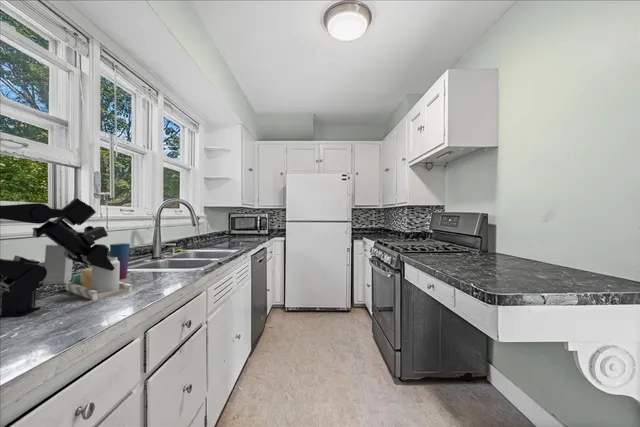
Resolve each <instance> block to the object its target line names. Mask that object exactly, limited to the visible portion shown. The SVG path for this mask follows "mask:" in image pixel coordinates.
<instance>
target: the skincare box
mask: <svg viewBox="0 0 640 427" xmlns="http://www.w3.org/2000/svg"><path fill="white" fill-rule="evenodd" d="M57 245H58V244H56V243H55V242H52V243H49V244H46V245H45V254H44V255H45V256H44V265H43V266H44V267H45V268H46V270H47V275H46V277H45V279H44V280H43V281H42V287H45V286H49V285H60V284H61V285H62V284H64V285H65V284H66V282H70V281H71V280H72V278H73V273H72V272H73V263H74V261H73V260H71V259H68V258H67V257H65V256H64V251H66V250H65V249H63V248H60V247H58V246H57Z"/></svg>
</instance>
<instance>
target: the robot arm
mask: <svg viewBox="0 0 640 427" xmlns="http://www.w3.org/2000/svg"><path fill="white" fill-rule="evenodd" d="M96 213H97V212H96V210H95V208H94V207H92V206H91V205H88V204H87V203H86V202H85V201H82V200H81V199H79V198H74V199H72V200H71V201H70V202H69V203H68V204H66V205H65V206H63V207H62V208H51V207H50V206H48V205H47V204H45V203H41V202H36V203H34V202H31V203H19V204H18V203H17V204H7V205H5V204H4V205H1V204H0V220H6V221H12V222H19V223H27V224H37V225H40V224H42V225H40V226H39V227H32V237H33V238H40V237H41V236H43V235H44V236H45V237H47V238H48V239H50V240H51V241H52V242H53V243H56V244H58V245H57V246H58V247H60V248H63V249H65V250H66V251H64V256H65V257H67V258H68V259H71V260H73V262H76V263H81V264H83V265H88V266H90V267H92V265H93V266H97V267H100V268H103V269H107V270H110V271H113V270H114V269H115V268H114V266H113V265H112V263H111V262H110V260H109V259H108V257H109V256H108V253H110V247H108V246H107V245H106V244H102V243H96V242H95V241H98V240H100V239H103V238H106V237H108V236H109V234H108V232H107V230H106V228H105V226H95V227H94V226H92V225H87V226H86V227H84V230H83V232H82V231H80V232H79V231H77V230H76V229H74V228H73V227H74V226H76V225H77V226H81V225H82V224H84V223H85V222H87V221H88V220H89V219H90V218H91V217H93V216H94V215H95V214H96ZM51 219H54V220H52V221H50V220H51ZM95 243H96V244H95ZM40 263H41V261H39V260H36V259H30V258H29V259H28V258H25V257H23V256H19V255H14V257H13V259H5V258H0V275H1V276H3V277H5V278H4V279H3V280H1V281H0V286H1V288H2V290H4V291H3V292H1V306H0V308H1V310H0V317H21V316H22V317H23V316H25V315H27V314H30V313H32V312H35V311H38V310H40V309H41V307H40V306H39V307H38V306H36V290H37V288H38V286H39V284H40V283H41V282H43V280H44V279H45V277H46V275H47V270H46V268H45V267H44V265H42V264H40Z"/></svg>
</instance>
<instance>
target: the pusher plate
mask: <svg viewBox="0 0 640 427" xmlns="http://www.w3.org/2000/svg"><path fill="white" fill-rule="evenodd" d="M80 274H81V273H80ZM80 274H72V282H73V283H74V284H77V285H80Z"/></svg>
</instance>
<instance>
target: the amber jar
mask: <svg viewBox="0 0 640 427" xmlns="http://www.w3.org/2000/svg"><path fill="white" fill-rule="evenodd" d="M91 281H92V267H87V268H83V269H81V270H80V286H83V287H86V288H89V289H91Z"/></svg>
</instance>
